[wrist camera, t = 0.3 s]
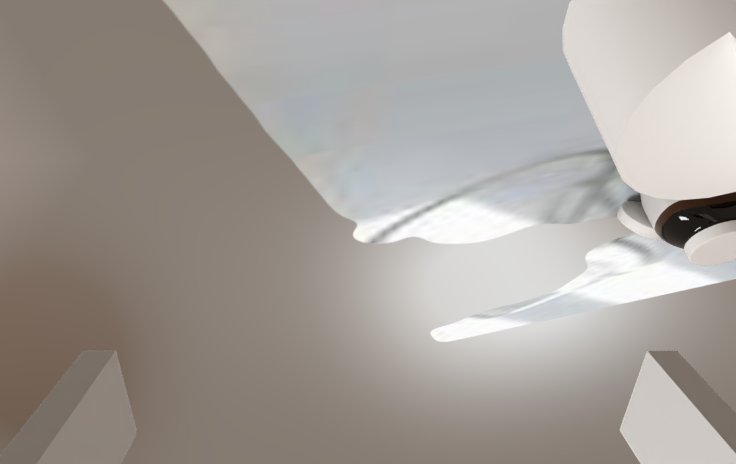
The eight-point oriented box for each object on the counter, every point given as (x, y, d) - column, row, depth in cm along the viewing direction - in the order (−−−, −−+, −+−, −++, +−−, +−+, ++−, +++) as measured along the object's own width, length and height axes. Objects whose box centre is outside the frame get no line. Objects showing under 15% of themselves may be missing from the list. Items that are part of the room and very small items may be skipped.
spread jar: (738, 135, 52) (798, 219, 45) (704, 197, 61) (750, 275, 54) (623, 156, 54) (663, 240, 47) (606, 213, 63) (639, 291, 56)
